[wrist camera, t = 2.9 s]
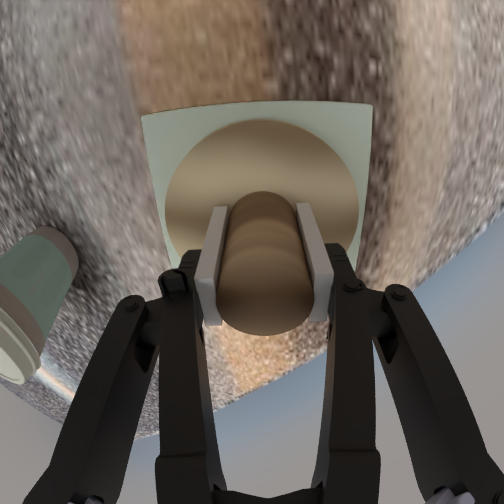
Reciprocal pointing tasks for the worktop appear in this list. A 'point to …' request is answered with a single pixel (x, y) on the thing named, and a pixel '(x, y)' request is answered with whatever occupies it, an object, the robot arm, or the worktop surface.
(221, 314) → the lid
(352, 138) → the mat
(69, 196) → the worktop surface
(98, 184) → the worktop surface
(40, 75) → the worktop surface
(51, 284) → the coffee cup
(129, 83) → the worktop surface
